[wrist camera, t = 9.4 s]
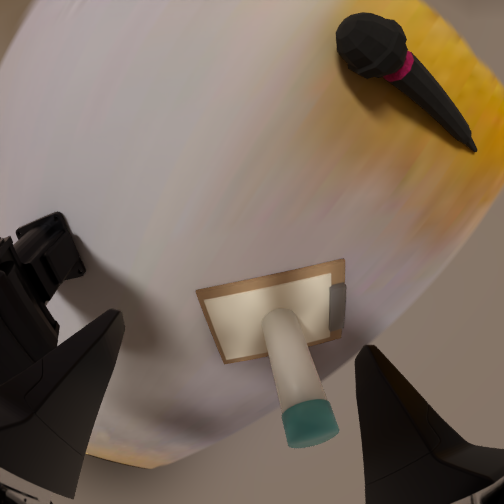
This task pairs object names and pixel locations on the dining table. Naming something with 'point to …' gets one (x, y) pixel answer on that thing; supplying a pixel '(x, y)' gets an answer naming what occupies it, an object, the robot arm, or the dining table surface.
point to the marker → (297, 382)
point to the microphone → (397, 68)
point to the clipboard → (274, 297)
